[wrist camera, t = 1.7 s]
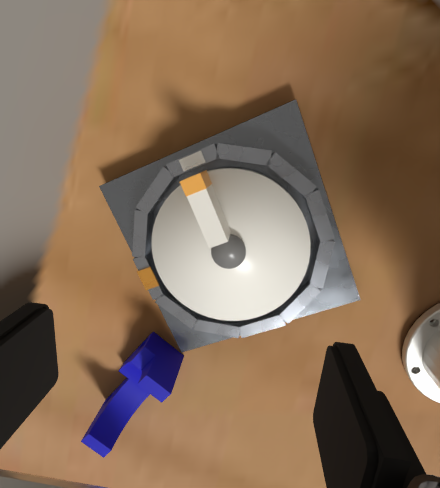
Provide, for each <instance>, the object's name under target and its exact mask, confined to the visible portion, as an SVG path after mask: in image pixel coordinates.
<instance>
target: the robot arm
mask: <svg viewBox="0 0 440 488" xmlns="http://www.w3.org/2000/svg"><path fill="white" fill-rule="evenodd" d="M402 361H403V365H404V369H405V371H406V373H407V375H408V377H409V379H410V380H411V381H412V383H413V384H414V386H415V387H416V388H417V389H418V390H419V391H420V392H421V393H422V394H423V395H425V396H427V397H428V398H430V399H431V400H433V401H436V402H438V403H440V303H438V304H436V305H435V306H433V307H432V308H430V309H429V310H427V311H426V312H425V313H424V314H423V315H421V316H420V317H419V318H418V319H417V320H416V321H415V323H414V324H413V325H412V327H411V328H410V329H409V331H408V333H407V335H406V338H405V340H404V344H403V348H402ZM57 379H58V364H57V353H56V342H55V330H54V319H53V312H52V310H51V309H49V307H48V305H46V304H39V303H32V302H29V303H27V304H25V305H23V306H22V307H21V308H19V309H18V310H16V311H15V312H13V313H12V314H11V315H9V316H8V317H6V318H5V319H3V320H2V321H0V449H1V448H2V447H3V445H4V444H5V443H6V442H7V441H8V440H9V438H10V437H11V436H12V435H13V434H14V432H15V431H16V430H17V429H18V428H19V426H20V425H21V424H22V423H23V422H24V421H25V419H26V418H27V417H28V416H29V415H30V413H31V412H32V411H33V410H34V409H35V407H36V406H37V405H38V404H39V403H40V402H41V400H42V399H43V398H44V397H45V396H46V394H47V393H48V392H49V391H50V390H51V389H52V387H53V386H54V385H55V383H56V381H57ZM313 423H314V428H315V433H316V438H317V443H318V448H319V452H320V457H321V462H322V467H323V472H324V477H325V482H326V486H327V488H440V477H437V476H434V475H426V473H425V471H424V469H423V467H422V465H421V463H420V461H419V459H418V457H417V455H416V453H415V451H414V449H413V448H412V446H411V444H410V442H409V440H408V438H407V436H406V434H405V432H404V430H403V428H402V426H401V424H400V422H399V420H398V419H397V417H396V415H395V413H394V411H393V409H392V407H391V405H390V403H389V401H388V399H387V397H386V396H385V394H384V393H383V392H381V391H377V390H376V388H375V386H374V384H373V382H372V379H371V377H370V375H369V373H368V371H367V369H366V367H365V365H364V363H363V361H362V359H361V357H360V355H359V353H358V351H357V349H356V347H355V345H353V344H348V343H340V342H335V343H334V344H333V346H328V347H327V351H326V355H325V360H324V365H323V370H322V374H321V379H320V384H319V388H318V393H317V398H316V403H315V407H314V413H313ZM0 488H106V487H100V486H95V485H89V484H83V483H77V482H72V481H66V480H60V479H55V478H49V477H43V476H37V475H31V474H25V473H19V472H13V471H7V470H1V469H0Z"/></svg>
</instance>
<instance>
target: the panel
mask: <svg viewBox="0 0 440 488" xmlns="http://www.w3.org/2000/svg"><path fill="white" fill-rule="evenodd" d="M230 167H233V168H243V169H248V170H253V171H255V172H258V173H261V174H263V175H265V176H267V177H269V178H271V179H273V180H274V181H275V182H277V183H278V184H280V185H281V186H282V187H283V188H284V189H285V190H286V191H287V192H288V193H289V194H290V195H291V197H292V198H293V199H294V200H295V202H296V203H297V205H298V207H299V208H300V210H301V212H302V213H303V216H304V218H305V220H306V223H307V226H308V230H309V235H310V243H311V244H310V258H309V264H308V267H307V270H306V273H305V276H304V278H303V280H302V282H301V283H300V285H299V287H298V288H297V290H296V291H295V292H294V293H293V294H292V296H291V297H290V298H289V299H288V300H287V301H285V302H284V303H283V304H282V305H281V306H279V307H278V308H276V309H275V310H273V311H271V312H269V313H267V314H265V315H262V316H259V317H257V318H252V319H248V320H240V321H226V320H218V319H214V318H210V317H207V316H204V315H201V314H199V313H197V312H195V311H193V310H191V309H189V308H188V307H186V306H185V305H183V304H182V303H181V302H180V301H179V300H177V299H176V298H175V297H174V296H173V295H172V294H171V293H170V291H169V290H168V289H167V287H166V286H165V285H164V283H163V282H162V280H161V278H160V276H159V274H158V272H157V269H156V267H155V263H154V259H153V254H152V232H153V226H154V223H155V219H156V217H157V214H158V212H159V210H160V208H161V207H162V205H163V203H164V202H165V200H166V199H167V198H168V197H169V195H170V194H171V193H172V192H173V191H174V190H175V189H176V188H177V187H179V186H180V185H181V184H180V181H182V180H184V179H186V178H189V177H191V176H193V175H196V174H198V173H200V172H203V171H205V170H207V171H209V170H213V169H219V168H230ZM99 187H100V189H101V191H102V193H103V195H104V197H105V199H106V201H107V203H108V205H109V207H110V209H111V211H112V213H113V215H114V217H115V219H116V221H117V223H118V225H119V227H120V229H121V231H122V233H123V235H124V237H125V239H126V241H127V243H128V245H129V247H130V249H131V251H132V256H134V257H135V258H134V259H133V261H134V263H135V265H136V267H137V269H138V271H137V273H138V275H139V277H140V279H141V281H142V283H143V285H144V287H145V289H146V290H148V291H149V293H150V295H151V297H152V299H153V300H154V299H155V300H156V302H155V303H157V304H158V306H159V308H160V310H161V312H162V314H163V316H164V318H165V320H166V322H167V324H168V326H169V328H170V330H171V332H172V334H173V336H174V338H175V340H176V342H177V344H178V346H179V348H180V350H181V352H184V351H188V350H191V349H195V348H198V347H201V346H205V345H208V344H212V343H215V342H218V341H222V340H225V339H229V338H232V337H235V338H239V335H241V337H242V338H244V337H247V336H251V335H254V334H257V333H261V332H264V331H268V330H271V329H275V328H278V327H282V326H285V325H286V324H285V322H287V323H288V324H289V323H290V322H291V321H292V320H293V319H297V318H300V317H304V316H307V315H311V314H314V313H317V312H321V311H324V310H328V309H331V308H334V307H338V306H341V305H345V304H348V303H351V302H355V301H358V300H360V297H359V294H358V290H357V287H356V284H355V281H354V278H353V275H352V272H351V269H350V266H349V263H348V259H347V256H346V253H345V250H344V247H343V244H342V241H341V238H340V235H339V231H338V228H337V225H336V222H335V219H334V216H333V213H332V210H331V207H330V204H329V200H328V197H327V194H326V191H325V188H324V185H323V182H322V179H321V176H320V173H319V169H318V166H317V163H316V160H315V157H314V154H313V151H312V148H311V145H310V141H309V138H308V135H307V132H306V129H305V126H304V123H303V120H302V117H301V114H300V110H299V107H298V104H297V101H296V100H293V101H291V102H289V103H287V104H284V105H282V106H280V107H278V108H275V109H273V110H271V111H268V112H266V113H264V114H262V115H259V116H257V117H255V118H253V119H250V120H248V121H246V122H244V123H241V124H239V125H237V126H234V127H232V128H230V129H228V130H225V131H223V132H221V133H219V134H216V135H214V136H212V137H210V138H207V139H205V140H203V141H201V142H198V143H196V144H194V145H191V146H189V147H187V148H185V149H182V150H180V151H178V152H176V153H173V154H171V155H169V156H167V157H164V158H162V159H160V160H157V161H155V162H153V163H151V164H148V165H146V166H144V167H142V168H139V169H137V170H135V171H133V172H130V173H128V174H126V175H123V176H121V177H119V178H117V179H114V180H112V181H110V182H108V183H105V184H103V185H101V186H99Z"/></svg>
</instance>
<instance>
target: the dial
mask: <svg viewBox="0 0 440 488" xmlns="http://www.w3.org/2000/svg"><path fill="white" fill-rule="evenodd" d="M180 184H181V185H180V186H179V187H177V188H176V189H175V190H174V191H173V192H172V193H171V194H170V195H169V197H168V198H167V199H166V200H165V202H164V203H163V205H162V207H161V208H160V210H159V212H158V214H157V217H156V219H155V223H154V226H153V232H152V254H153V259H154V263H155V267H156V269H157V272H158V274H159V276H160V278H161V280H162V282H163V283H164V285H165V286H166V287H167V289H168V290H169V291H170V293H171V294H172V295H173V296H174V297H175V298H176V299H177V300H179V301H180V302H181V303H182V304H183V305H185V306H186V307H188V308H189V309H191V310H193V311H195V312H197V313H199V314H201V315H204V316H207V317H210V318H214V319H218V320H226V321H240V320H248V319H252V318H257V317H259V316H262V315H265V314H267V313H269V312H271V311H273V310H275V309H276V308H278V307H279V306H281V305H282V304H283V303H284V302H285V301H287V300H288V299H289V298H290V297H291V296H292V294H293V293H294V292H295V291H296V290H297V288H298V287H299V285H300V283H301V282H302V280H303V278H304V276H305V273H306V270H307V267H308V264H309V258H310V244H311V243H310V235H309V230H308V226H307V223H306V220H305V218H304V216H303V213H302V212H301V210H300V208H299V207H298V205H297V203H296V202H295V200H294V199H293V198H292V197H291V195H290V194H289V193H288V192H287V191H286V190H285V189H284V188H283V187H282V186H281V185H280V184H278V183H277V182H275V181H274V180H273V179H271V178H269V177H267V176H265V175H263V174H261V173H258V172H255V171H253V170H248V169H243V168H233V167H230V168H219V169H213V170H209V171H207V170H205V171H203V172H200V173H198V174H196V175H193V176H191V177H189V178H186V179H184V180H182V181H180Z"/></svg>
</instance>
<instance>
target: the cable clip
mask: <svg viewBox="0 0 440 488" xmlns="http://www.w3.org/2000/svg"><path fill="white" fill-rule="evenodd" d="M183 357H184V355H183V354H181V353H180V352H179V351H177V350H176V349H175V348H174V347H172V346H171V345H170V344H169V343H167V342H166V341H165V340H164V339H162V338H161V337H160V336H158V335H157V334H156V333H155V332H152V333H151V334H150V335H149V336H148V337H147V339H146V340H145V341H144V342H143V343H142V344H141V345H140V346H139V347H138V348H137V349H136V350H135V351H134V352H133V353H132V355H131V356H130V357H129V358H128V359H127V360H126V361H125V362H124V363H123V365H122V366H121V368H120V370H119V372H120V373H122V374H123V375H124V376H126V377H127V378H126V379H125V380H124V381H123V382H122V383H121V384H120V385H119V386H118V388H117V389H116V390H115V391H114V392H113V393H112V394H111V395H110V396H109V397H108V398H107V399H106V400H105V402H104V404H103V405H102V407H101V409H100V410H99V412H98V414H97V415H96V417H95V419H94V420H93V422H92V424H91V425H90V427H89V429H88V431H87V432H86V434H85V436H84V437H83V439H82V441H81V442H83V443H84V444H85V445H87V446H88V447H90V448H91V449H92V450H94V451H95V452H97V453H98V454H99V455H101V456H102V457H105V456H106V455H107V454H108V453H109V452H110V451H111V450H112V448H113V446H114V444H115V442H116V440H117V438H118V437H119V435H120V433H121V432H122V430H123V428H124V427H125V425H126V424H127V422H128V421H129V419H130V418H131V416H132V415H133V414H134V412H135V411H136V410H137V408H138V407H139V406H140V405H141V403H142V402H143V401H144V400H145V399H146V398H147V397H148V396H149V395H150V394H151V395H152V396H154V397H155V398H156V399H158V400H159V401H160V402H163V401H164V400H165V399H166V398H167V397H168V396H169V395H170V394H171V392H172V389H173V387H174V384H175V381H176V378H177V375H178V372H179V369H180V366H181V363H182V360H183Z"/></svg>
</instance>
